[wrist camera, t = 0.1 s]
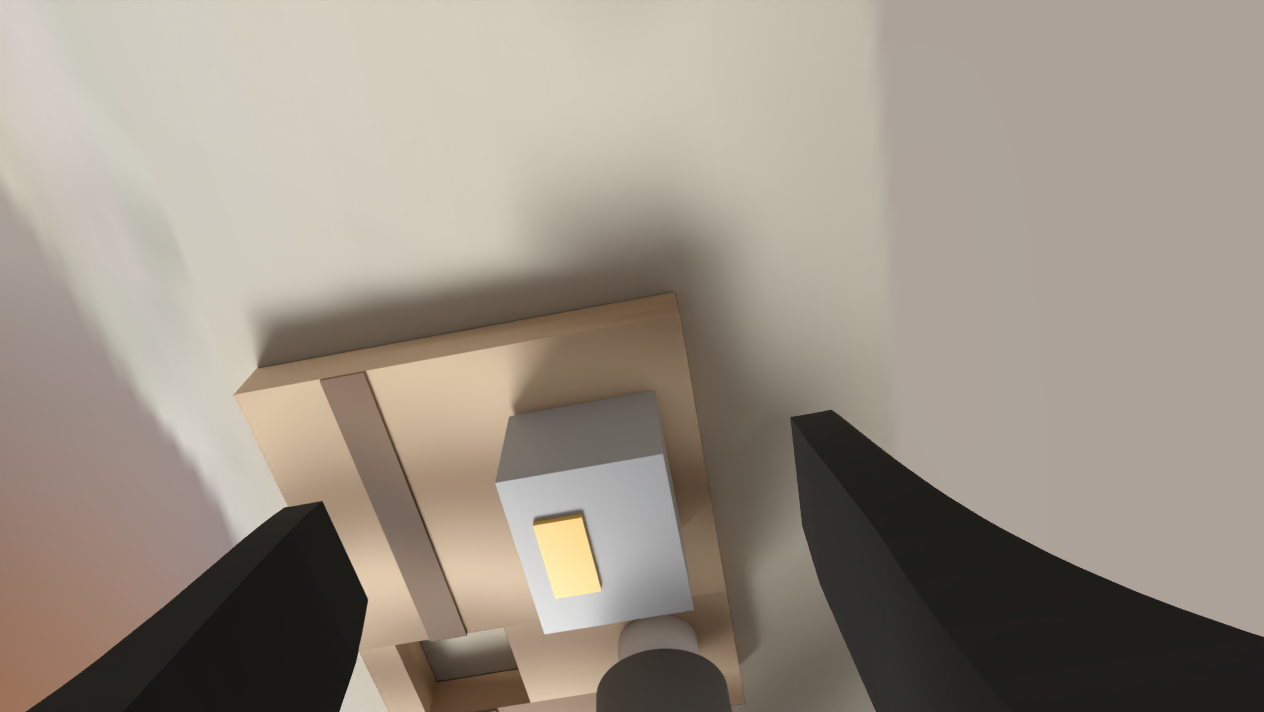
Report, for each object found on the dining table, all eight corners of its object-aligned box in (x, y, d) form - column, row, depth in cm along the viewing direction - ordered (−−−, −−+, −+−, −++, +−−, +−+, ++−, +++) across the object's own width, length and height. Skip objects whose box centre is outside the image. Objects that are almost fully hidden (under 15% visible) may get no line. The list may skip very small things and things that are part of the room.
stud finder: (682, 534, 22) (694, 614, 20) (551, 556, 23) (544, 639, 20) (654, 390, 20) (663, 457, 17) (509, 416, 20) (494, 486, 18)
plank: (738, 668, 27) (745, 705, 26) (419, 718, 28) (409, 758, 27) (674, 291, 21) (680, 315, 19) (256, 368, 21) (231, 396, 20)
